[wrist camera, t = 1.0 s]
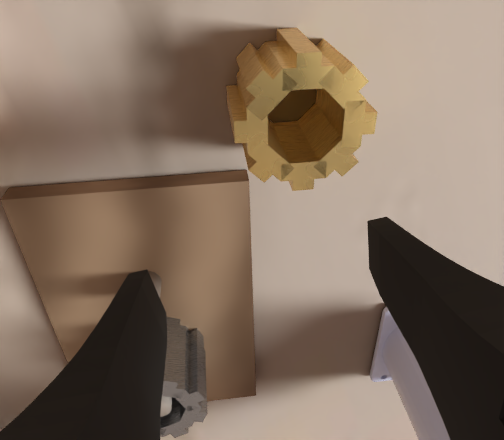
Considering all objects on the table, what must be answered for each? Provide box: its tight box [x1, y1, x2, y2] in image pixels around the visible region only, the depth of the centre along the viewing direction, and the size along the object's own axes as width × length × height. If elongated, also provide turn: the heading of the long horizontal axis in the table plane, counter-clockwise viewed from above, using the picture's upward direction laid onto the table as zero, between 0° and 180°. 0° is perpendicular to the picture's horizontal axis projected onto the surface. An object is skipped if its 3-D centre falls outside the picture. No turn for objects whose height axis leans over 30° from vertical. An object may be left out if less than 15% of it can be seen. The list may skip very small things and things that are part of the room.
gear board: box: [0, 170, 256, 417], centre depth 25 cm, size 12×18×6 cm, turn 1°
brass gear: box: [226, 28, 377, 191], centre depth 19 cm, size 6×6×4 cm
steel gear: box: [160, 317, 207, 438], centre depth 26 cm, size 6×6×4 cm
